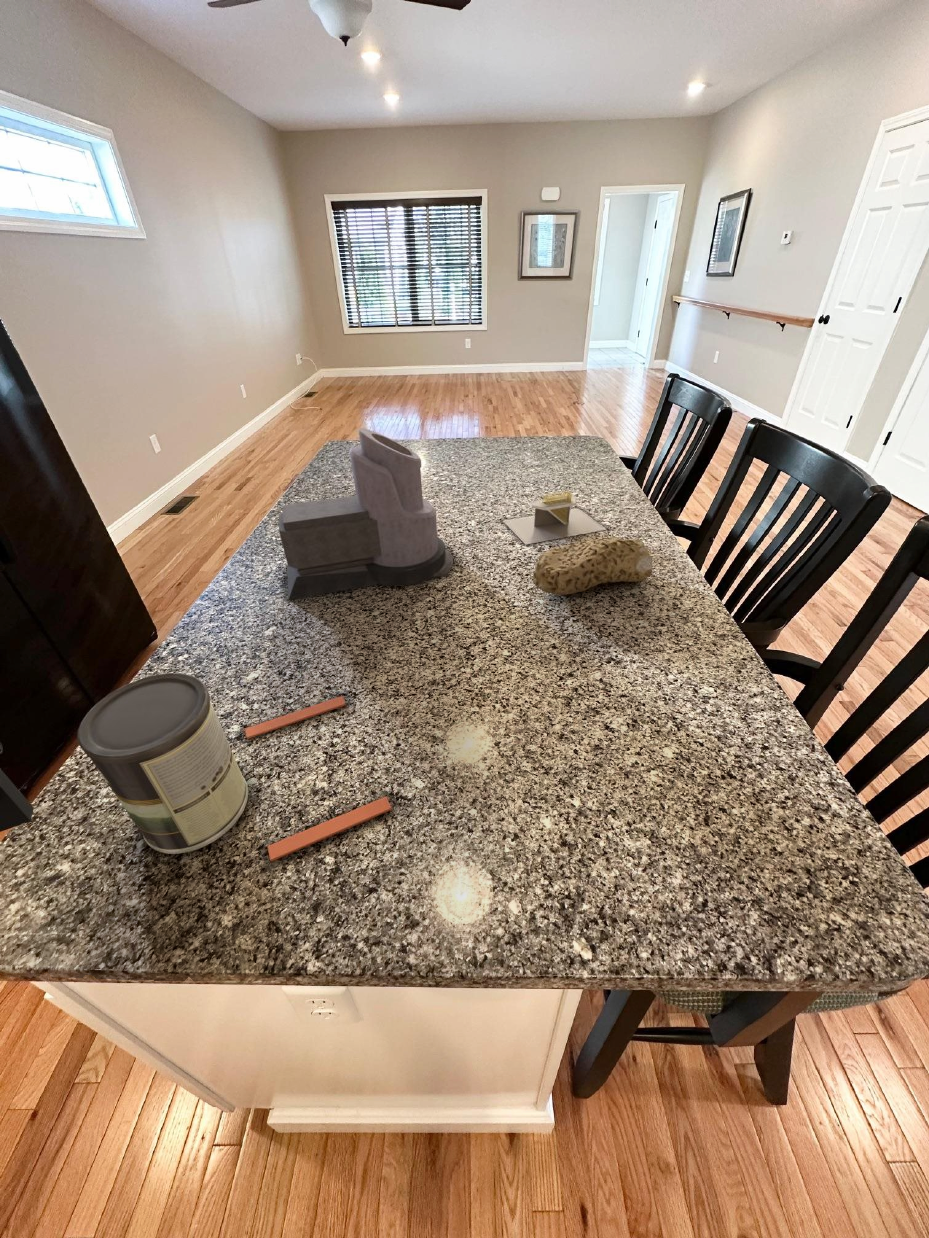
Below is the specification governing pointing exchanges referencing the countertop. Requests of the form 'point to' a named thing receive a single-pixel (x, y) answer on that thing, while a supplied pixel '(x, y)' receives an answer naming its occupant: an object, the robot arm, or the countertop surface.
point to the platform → (553, 520)
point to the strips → (329, 826)
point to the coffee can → (167, 761)
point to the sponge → (591, 565)
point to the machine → (365, 527)
